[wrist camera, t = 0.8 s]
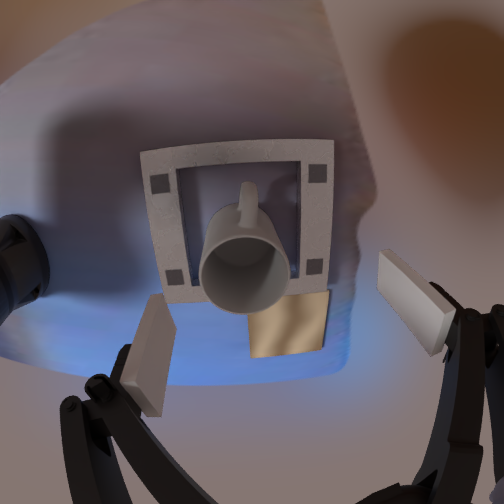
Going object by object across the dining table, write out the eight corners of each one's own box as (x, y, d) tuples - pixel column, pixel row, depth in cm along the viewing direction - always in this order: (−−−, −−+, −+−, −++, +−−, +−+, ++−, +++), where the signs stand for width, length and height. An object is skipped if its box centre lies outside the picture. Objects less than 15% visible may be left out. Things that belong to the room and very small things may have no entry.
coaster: (250, 355, 43) (250, 358, 43) (246, 296, 38) (246, 299, 38) (320, 347, 44) (321, 349, 43) (328, 288, 39) (329, 291, 38)
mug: (269, 266, 37) (284, 317, 27) (205, 263, 36) (197, 314, 26) (281, 176, 32) (305, 197, 22) (209, 171, 31) (199, 189, 21)
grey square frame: (168, 295, 37) (166, 304, 35) (144, 150, 29) (139, 152, 27) (322, 283, 38) (326, 291, 37) (328, 139, 30) (334, 139, 28)
